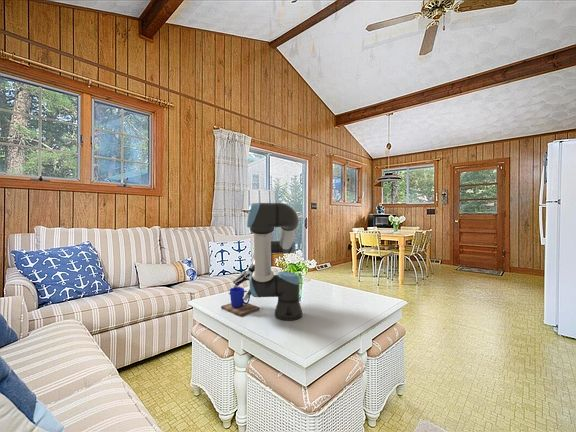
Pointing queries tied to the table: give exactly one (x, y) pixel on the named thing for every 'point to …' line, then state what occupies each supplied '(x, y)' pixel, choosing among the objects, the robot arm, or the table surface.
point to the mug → (237, 297)
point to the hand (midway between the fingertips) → (236, 297)
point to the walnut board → (240, 309)
